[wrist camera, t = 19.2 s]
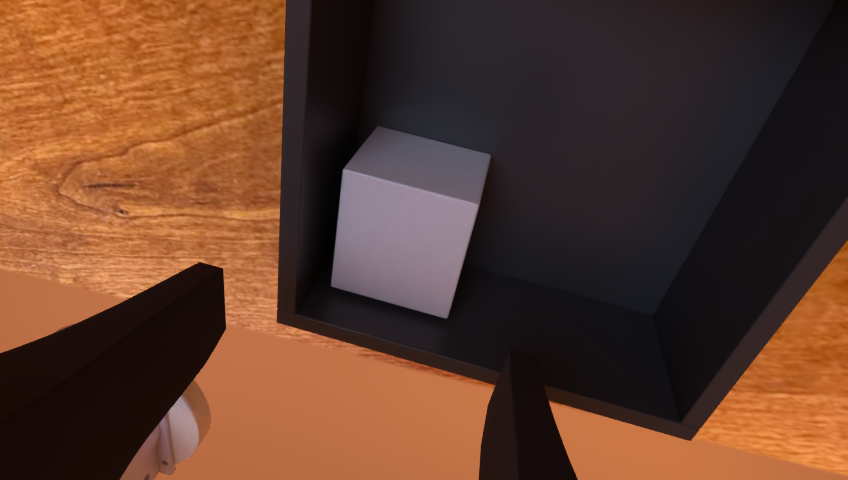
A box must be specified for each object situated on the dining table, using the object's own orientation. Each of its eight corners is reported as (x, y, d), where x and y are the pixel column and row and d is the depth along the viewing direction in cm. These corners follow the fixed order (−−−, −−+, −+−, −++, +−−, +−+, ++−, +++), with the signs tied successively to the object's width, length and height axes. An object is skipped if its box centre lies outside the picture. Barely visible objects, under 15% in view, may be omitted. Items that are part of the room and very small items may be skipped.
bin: (659, 321, 20) (691, 441, 16) (335, 233, 21) (276, 323, 17) (890, -66, 13) (1076, -51, 8) (376, -176, 14) (290, -217, 9)
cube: (462, 258, 20) (447, 319, 17) (362, 231, 20) (330, 287, 17) (491, 154, 17) (479, 204, 14) (377, 124, 18) (342, 168, 15)
